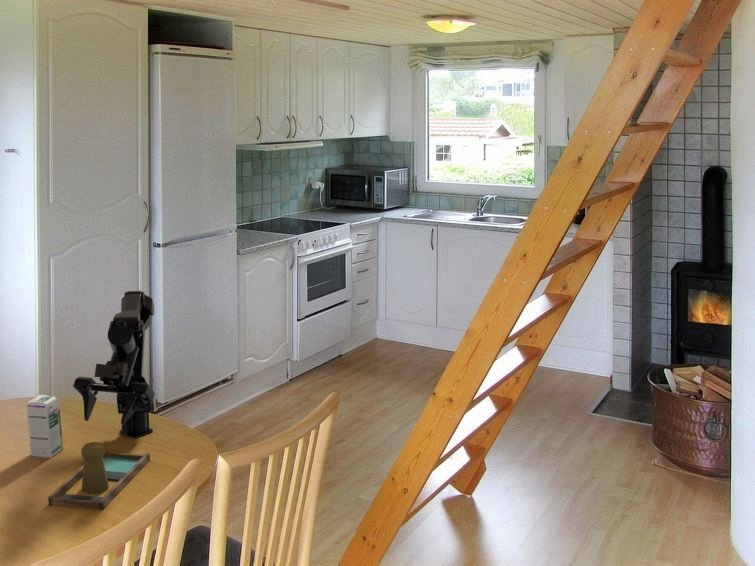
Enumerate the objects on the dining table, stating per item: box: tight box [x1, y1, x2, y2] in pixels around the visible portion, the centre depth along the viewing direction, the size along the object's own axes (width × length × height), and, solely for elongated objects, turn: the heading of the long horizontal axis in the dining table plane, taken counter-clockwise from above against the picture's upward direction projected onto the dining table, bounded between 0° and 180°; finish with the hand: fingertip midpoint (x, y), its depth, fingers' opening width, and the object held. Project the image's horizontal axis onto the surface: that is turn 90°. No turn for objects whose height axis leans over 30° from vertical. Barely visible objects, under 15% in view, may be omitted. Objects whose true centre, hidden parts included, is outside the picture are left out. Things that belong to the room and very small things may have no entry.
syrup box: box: [25, 394, 64, 459], centre depth 227 cm, size 6×6×14 cm
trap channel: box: [47, 451, 151, 511], centre depth 213 cm, size 26×13×2 cm, turn 171°
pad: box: [103, 457, 139, 473], centre depth 221 cm, size 7×10×1 cm
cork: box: [80, 441, 110, 495], centre depth 208 cm, size 6×6×11 cm
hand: (104, 422), depth 214 cm, fingers open, 9 cm apart
